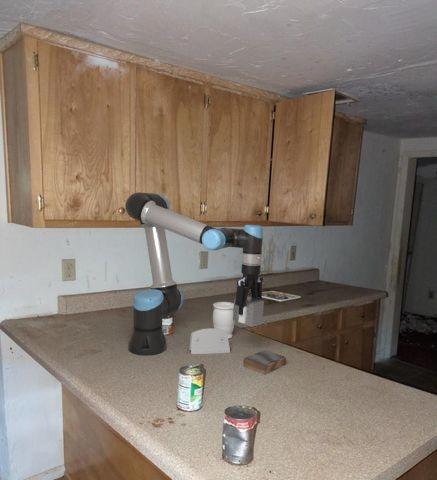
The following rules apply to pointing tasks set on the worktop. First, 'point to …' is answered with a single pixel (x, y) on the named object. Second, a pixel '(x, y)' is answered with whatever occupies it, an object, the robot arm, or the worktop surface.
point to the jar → (224, 317)
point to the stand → (264, 361)
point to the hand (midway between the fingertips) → (247, 320)
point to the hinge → (209, 341)
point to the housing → (250, 312)
